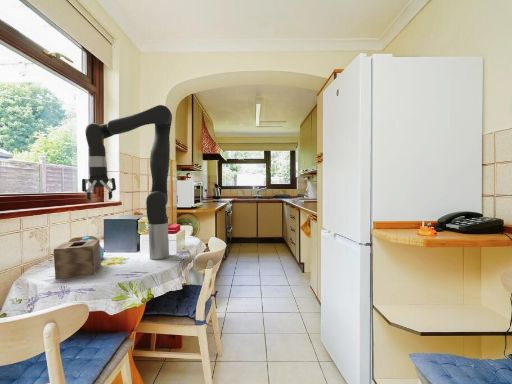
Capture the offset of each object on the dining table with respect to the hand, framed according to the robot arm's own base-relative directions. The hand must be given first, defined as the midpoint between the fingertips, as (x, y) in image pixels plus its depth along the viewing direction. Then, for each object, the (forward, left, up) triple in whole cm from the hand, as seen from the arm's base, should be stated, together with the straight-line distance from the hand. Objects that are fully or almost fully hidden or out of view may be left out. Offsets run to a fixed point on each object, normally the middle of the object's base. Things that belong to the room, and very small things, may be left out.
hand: (100, 199), depth 139 cm
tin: (+14, -26, -30) cm, 42 cm away
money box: (+7, +14, -30) cm, 34 cm away
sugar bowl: (+8, -4, -30) cm, 32 cm away
